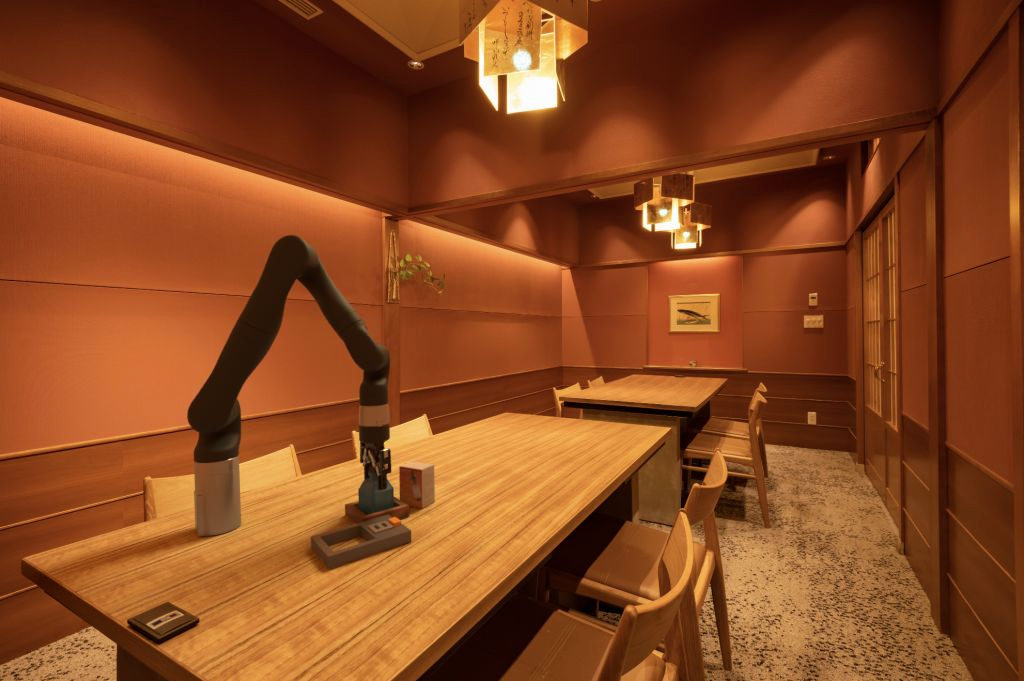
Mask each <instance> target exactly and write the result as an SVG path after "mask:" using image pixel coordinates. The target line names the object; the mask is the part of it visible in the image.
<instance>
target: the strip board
mask: <svg viewBox="0 0 1024 681" xmlns="http://www.w3.org/2000/svg"><path fill="white" fill-rule="evenodd" d="M359 537H361V538H363V539H364V541H363V542H361V543H357V544H354V545H351V546H348V547H344V548H341V549H337V550H335V551H333V549H332V548H331V547H330V546H331V545H335V544H338V543H342V542H346V541H349V540H352V539H355V538H359ZM410 542H411V543H412V530H411V529H409V528H408V527H407V526H406V525H405V524H403V523H402V519H398V518H396V517H391V516H390V515H384V516H381V517H377V518H374V519H370V520H367V521H363V522H360V523H356V524H355V523H354V524H350V525H346V526H343V527H339V528H336V529H333V530H329V531H325V532H322V533H319V534H314V535H312V536H310V548H311V550H312V551H313V552H314V553H315V555H316V557H318V558H319V559H320V561H321V562H322V563H323V564H324V566H325V567H326V568H327V569H328V570H330V569H335V568H337V567H340V566H343V565H345V564H348V563H351V562H354V561H358V560H361V559H364V558H366V557H368V556H372V555H374V554H378V553H382V552H384V551H387V550H390V549H393V548H396V547H399V546H402V545H404V544H408V543H410Z"/></svg>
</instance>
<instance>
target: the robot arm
mask: <svg viewBox="0 0 1024 681" xmlns="http://www.w3.org/2000/svg"><path fill="white" fill-rule="evenodd" d="M296 281H298V282H299V283H300V284H301V285H302V286H304V287H305V289H306V290H307V291H308V292H309V294H310V295H311V296H312V298H313V299H314V300H315V302H316V304H317V305H318V308H319V309H320V311H321V313H322V314H323V316H324V318H325V320H326V321H327V323H328V325H330V327H331V328H332V330H334V332H335V334H337V336H338V337H339V339H340V340H341V341H342V342H343V343H344V345H345V348H346V349H347V352H348V353H349V355H350V357H351V359H352V360H353V361H354V363H355V365H357V366H358V368H360V369H361V370H362V371H363V372H362V373H363V376H362V382H361V383H360V386H359V407H358V408H359V409H358V441H359V462H360V464H362V467H363V476H364V477H363V481H364V480H365V479H369V478H370V476H369V475H368V472H369V471H370V469H369V466H371V465H373V467H374V468H376V471H377V489H378V490H380V491H381V490H385V489H386V488H387V479H388V474H391V473H392V455H391V454H392V452H391V449H390V448H385V442H387V441H389V440H390V438H391V434H390V433H391V431H390V430H391V429H390V428H391V427H390V426H391V425H390V423H391V422H390V418H391V416H390V406H389V388H388V386H389V384H388V383H389V378H390V370H391V369H390V368H391V357H390V356H391V355H390V352H389V349H388V348H387V346H385V345H384V344H381V343H379V342H378V343H377V342H375V340H374V339H373V338H372V336H371V335H370V333H369V332H368V326H367V324H366V323H365V321H364V320H363V318H361V316H360V315H359V313H358V312H357V311H356V310H355V308H354V306H352V305H351V303H350V302H349V301H348V299H346V297H345V296H344V295H343V293H342V292H341V291H340V290H339V288H338V287H337V286H336V285H335V283H334V281H332V278H331V277H330V275H329V274H328V272H327V270H326V268H325V266H324V265H323V263H322V261H321V259H320V257H319V255H318V253H317V251H316V249H315V248H314V247H313V246H312V245H311V244H310V243H308V242H307V241H306V240H305V239H304V238H302V237H300V236H297V235H294V234H289V235H285V236H282V237H280V238H279V239H277V241H276V242H275V243H274V244H273V246H272V248H271V250H270V252H269V254H268V258H267V260H266V262H265V265H264V267H263V270H262V272H261V275H260V277H259V281H258V282H257V284H256V286H255V288H254V289H253V291H252V293H251V295H250V296H249V298H248V300H247V302H246V304H245V306H244V308H243V310H242V311H241V313H240V315H239V316H238V319H237V320H236V322H235V324H234V326H233V328H232V330H231V331H230V334H229V336H228V338H227V340H226V342H225V344H224V346H223V348H222V350H221V352H220V355H219V356H218V358H217V361H216V363H215V365H214V367H213V369H212V371H211V373H210V374H209V376H208V377H207V379H206V381H205V382H204V383H203V385H202V386H201V388H200V390H198V392H197V394H196V395H195V397H194V398H193V400H192V401H191V402H190V405H189V406H188V409H187V413H186V414H187V415H186V418H187V422H188V425H189V426H190V428H191V429H192V430H193V431H196V433H197V432H198V440H197V442H196V445H195V448H194V450H193V471H194V472H193V474H194V490H193V500H194V504H193V505H194V521H195V522H194V525H195V527H194V529H195V532H196V535H197V538H200V537H206V536H207V537H208V536H209V537H210V536H211V537H212V536H216V535H222V534H225V533H229V532H231V531H234V530H235V529H238V528H239V527H240V526H241V524H242V503H241V502H242V500H241V481H240V480H241V479H240V478H241V476H240V475H241V472H240V444H241V440H242V410H241V409H242V408H241V405H240V401H239V400H238V398H239V395H240V392H241V390H242V388H243V386H244V385H245V383H246V381H247V380H248V378H249V377H251V375H252V374H253V372H254V371H255V370H256V369H257V367H258V366H259V365H260V364H261V363H262V362H263V360H264V359H265V357H266V355H267V354H268V353H269V351H270V349H272V346H273V344H274V342H275V340H276V338H277V336H278V334H279V331H280V329H281V327H282V324H283V319H284V314H285V313H284V312H285V307H286V301H287V298H288V296H289V293H290V291H291V289H292V287H293V286H294V284H295V282H296ZM379 467H380V468H379Z"/></svg>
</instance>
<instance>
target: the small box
mask: <svg viewBox="0 0 1024 681" xmlns="http://www.w3.org/2000/svg"><path fill="white" fill-rule="evenodd" d="M398 469H399V471H398V472H399V473H398V474H399V475H398V476H399V500H401V501H402V502H404V503H405V504H407V505H409V507H410V506H411V507H415V508H419V509H421V510H422V509H424V508H427V507H428V506H429V505H431V504H434V503H435V500H436V496H435V495H436V494H435V493H436V492H435V490H436V488H435V486H436V485H435V484H436V482H435V480H436V479H435V478H436V477H435V464H432V463H425V462H418V461H413V460H412V461H409V462H406V463H404V464H401V465H399V467H398Z"/></svg>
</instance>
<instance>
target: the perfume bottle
mask: <svg viewBox="0 0 1024 681" xmlns="http://www.w3.org/2000/svg"><path fill="white" fill-rule="evenodd" d="M379 468H380V467H379ZM369 469H370V471H369V472H368V475H369V476H370V478H369V479H365V480H364V479H363V482H362V483H361V485H360V486H359V488H358V490H357V491H358V495H357V496H358V501H359V510H360V511H362V512H363V513H364V514H366V515H368V514H372V513H376V512H379V511H383V510H386V509H390V508H394V497H395V496H394V486H393V485H392V483H391V482H390V481H389V480H388V478H387V488H386V489H385V490H381V491H380V490H378V489H377V471H376V468H374V467H373V465H371V466H369Z"/></svg>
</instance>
